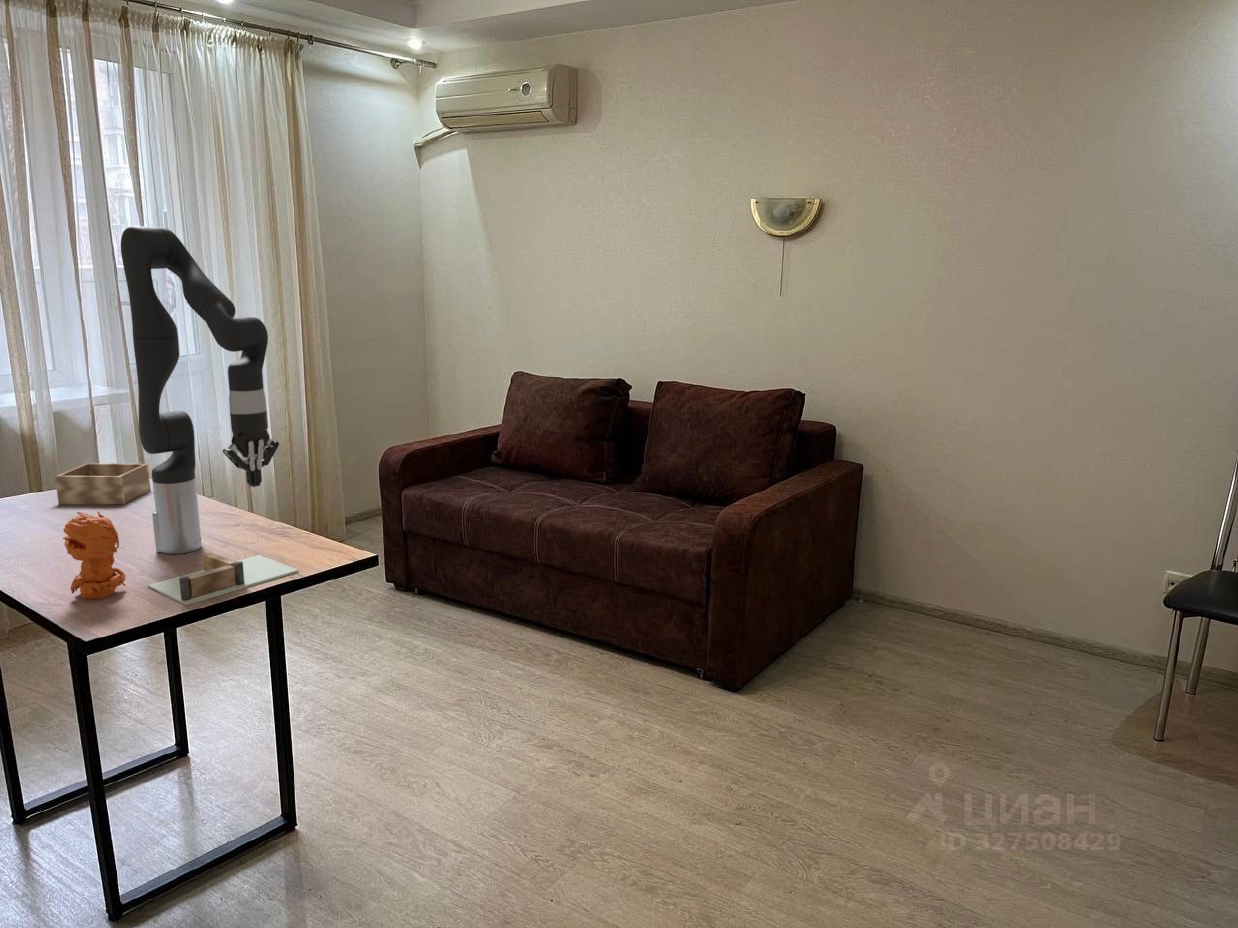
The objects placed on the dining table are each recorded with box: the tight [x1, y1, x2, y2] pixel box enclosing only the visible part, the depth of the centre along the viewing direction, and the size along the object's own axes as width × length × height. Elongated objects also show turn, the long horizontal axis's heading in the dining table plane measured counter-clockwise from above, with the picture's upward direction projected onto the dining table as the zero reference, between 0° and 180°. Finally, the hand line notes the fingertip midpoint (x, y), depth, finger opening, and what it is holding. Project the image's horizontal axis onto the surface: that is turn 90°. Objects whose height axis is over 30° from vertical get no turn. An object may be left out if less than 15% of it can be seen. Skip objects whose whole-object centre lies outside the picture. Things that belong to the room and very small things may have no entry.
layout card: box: [147, 554, 300, 606], centre depth 203 cm, size 26×16×1 cm, turn 142°
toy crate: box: [54, 462, 152, 505], centre depth 266 cm, size 18×16×8 cm
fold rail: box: [202, 552, 239, 571], centre depth 202 cm, size 10×2×4 cm, turn 55°
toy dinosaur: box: [62, 511, 126, 600], centre depth 192 cm, size 11×11×18 cm
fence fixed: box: [179, 560, 244, 601], centre depth 194 cm, size 14×2×5 cm, turn 142°
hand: (254, 485), depth 207 cm, fingers closed
